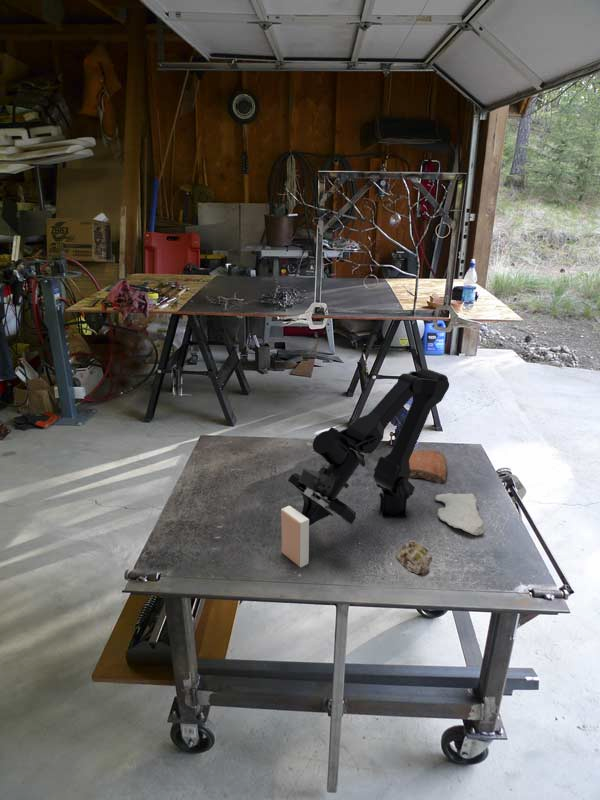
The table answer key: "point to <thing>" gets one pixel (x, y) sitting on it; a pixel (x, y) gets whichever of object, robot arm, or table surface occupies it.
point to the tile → (295, 536)
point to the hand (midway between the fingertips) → (299, 528)
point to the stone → (460, 512)
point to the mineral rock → (414, 557)
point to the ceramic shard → (428, 465)
